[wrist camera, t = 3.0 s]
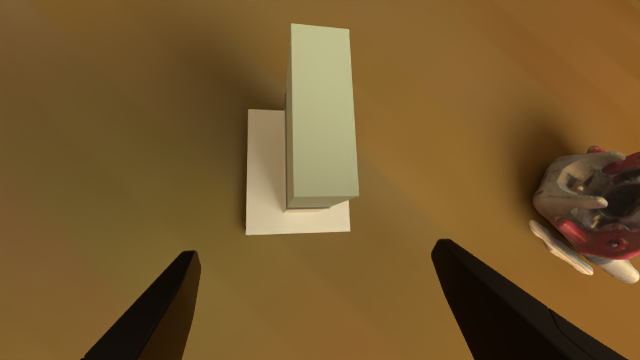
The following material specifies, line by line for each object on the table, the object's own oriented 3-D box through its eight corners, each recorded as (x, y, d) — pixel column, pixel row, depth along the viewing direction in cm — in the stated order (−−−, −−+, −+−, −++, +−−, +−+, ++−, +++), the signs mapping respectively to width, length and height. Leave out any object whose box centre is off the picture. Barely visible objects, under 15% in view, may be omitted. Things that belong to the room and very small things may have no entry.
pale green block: (330, 207, 14) (359, 196, 9) (286, 208, 14) (293, 197, 9) (325, 92, 16) (349, 28, 11) (285, 90, 15) (290, 23, 10)
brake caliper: (560, 112, 24) (825, 118, 15) (556, 180, 31) (739, 212, 22) (513, 207, 22) (802, 282, 13) (520, 260, 28) (712, 333, 19)
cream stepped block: (346, 230, 21) (376, 232, 15) (247, 234, 20) (234, 237, 14) (340, 118, 23) (365, 76, 17) (249, 114, 22) (238, 67, 15)
